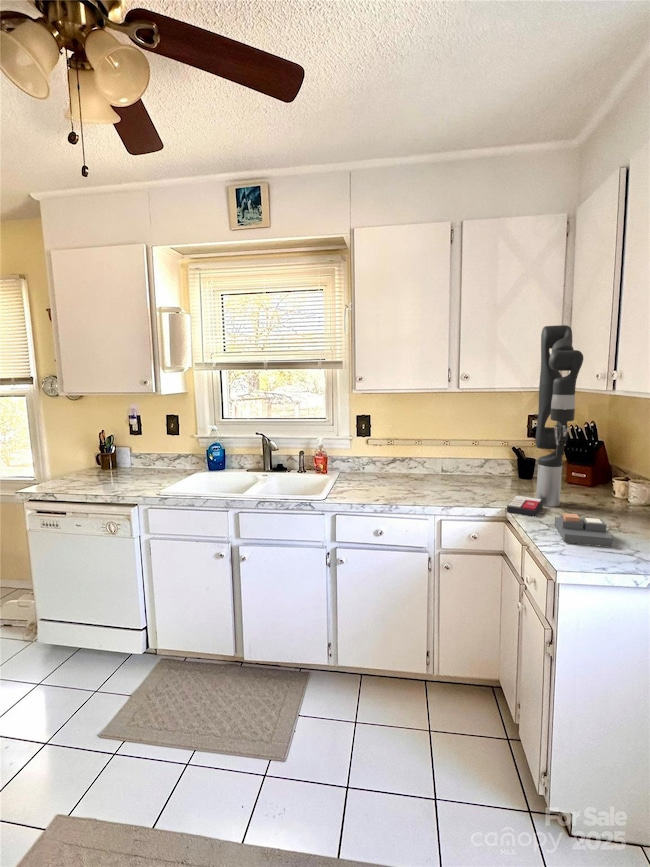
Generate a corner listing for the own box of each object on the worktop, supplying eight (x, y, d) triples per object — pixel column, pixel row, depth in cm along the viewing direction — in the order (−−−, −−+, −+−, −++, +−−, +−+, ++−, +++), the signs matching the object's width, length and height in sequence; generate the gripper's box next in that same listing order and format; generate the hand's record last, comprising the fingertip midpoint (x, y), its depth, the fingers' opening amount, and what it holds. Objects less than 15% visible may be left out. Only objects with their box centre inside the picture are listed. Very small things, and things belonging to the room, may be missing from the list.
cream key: (584, 524, 157) (584, 517, 157) (598, 525, 156) (599, 518, 155) (587, 528, 153) (588, 521, 153) (602, 530, 152) (602, 523, 151)
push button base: (554, 524, 166) (555, 510, 166) (596, 528, 162) (597, 513, 161) (564, 542, 149) (565, 526, 149) (612, 547, 145) (613, 531, 144)
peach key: (562, 519, 159) (563, 513, 159) (576, 520, 158) (576, 514, 157) (565, 523, 155) (565, 517, 155) (579, 525, 154) (579, 518, 153)
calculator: (506, 504, 181) (515, 494, 193) (506, 514, 182) (514, 503, 194) (536, 509, 175) (542, 498, 187) (535, 519, 176) (542, 507, 188)
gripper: (548, 405, 166) (545, 451, 168) (554, 408, 153) (551, 458, 156) (570, 406, 163) (567, 452, 166) (579, 409, 151) (575, 459, 153)
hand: (559, 455), depth 161 cm, fingers closed
